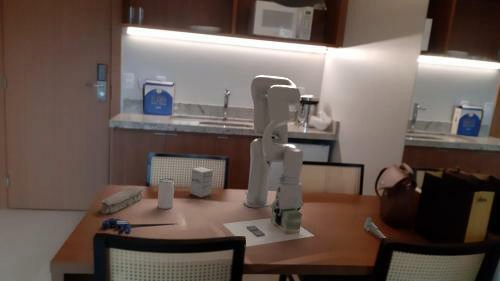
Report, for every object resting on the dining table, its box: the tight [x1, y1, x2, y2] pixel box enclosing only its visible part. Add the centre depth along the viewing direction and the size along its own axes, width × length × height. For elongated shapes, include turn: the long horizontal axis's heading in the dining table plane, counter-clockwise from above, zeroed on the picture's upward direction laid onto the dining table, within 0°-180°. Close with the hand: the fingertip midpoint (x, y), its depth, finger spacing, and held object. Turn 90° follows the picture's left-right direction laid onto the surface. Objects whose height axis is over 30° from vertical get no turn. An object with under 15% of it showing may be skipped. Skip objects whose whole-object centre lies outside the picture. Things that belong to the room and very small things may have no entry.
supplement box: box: [189, 166, 214, 198], centre depth 183 cm, size 7×7×13 cm
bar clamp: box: [101, 217, 179, 234], centre depth 142 cm, size 32×2×10 cm
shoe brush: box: [100, 187, 143, 215], centre depth 161 cm, size 24×8×5 cm, turn 163°
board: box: [222, 217, 315, 247], centre depth 147 cm, size 20×30×2 cm, turn 119°
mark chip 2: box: [252, 230, 265, 237], centre depth 142 cm, size 4×4×1 cm
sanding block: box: [270, 206, 303, 235], centre depth 150 cm, size 12×6×8 cm, turn 28°
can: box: [157, 177, 175, 210], centre depth 163 cm, size 6×6×12 cm
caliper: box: [363, 216, 387, 239], centre depth 151 cm, size 20×1×6 cm, turn 18°
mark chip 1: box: [247, 226, 259, 232], centre depth 145 cm, size 4×4×1 cm
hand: (285, 222), depth 150 cm, fingers closed on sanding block, 6 cm apart
